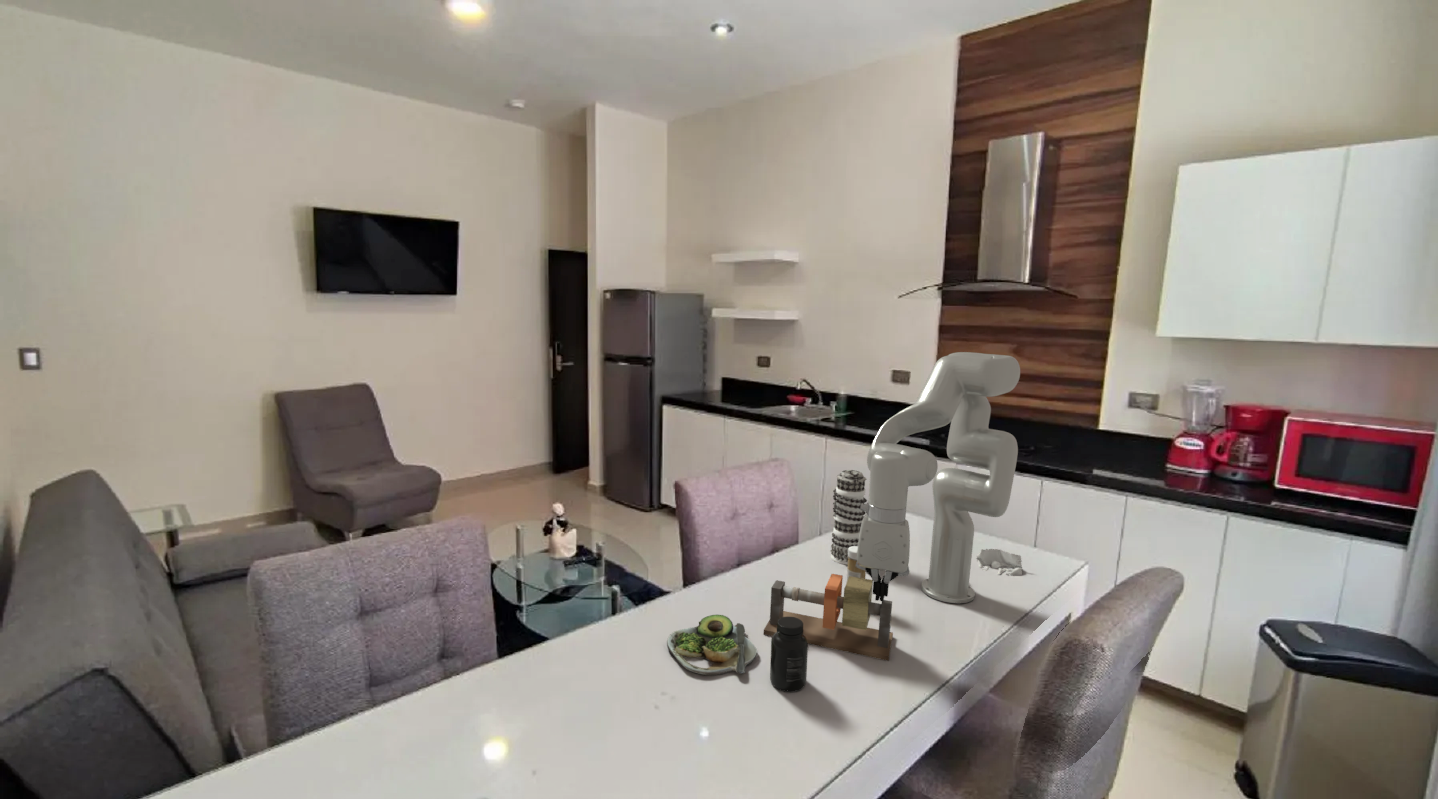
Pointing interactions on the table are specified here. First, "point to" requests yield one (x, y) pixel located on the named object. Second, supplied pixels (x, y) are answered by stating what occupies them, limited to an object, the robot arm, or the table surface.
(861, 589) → the sleeve
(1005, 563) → the grey relief sculpture
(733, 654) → the avocado toast plate
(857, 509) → the decorative candle
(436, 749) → the table surface
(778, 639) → the supplement bottle
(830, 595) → the orange rectangular slab
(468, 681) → the table surface
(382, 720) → the table surface
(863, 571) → the sprinkles bottle
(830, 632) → the machine model on base
